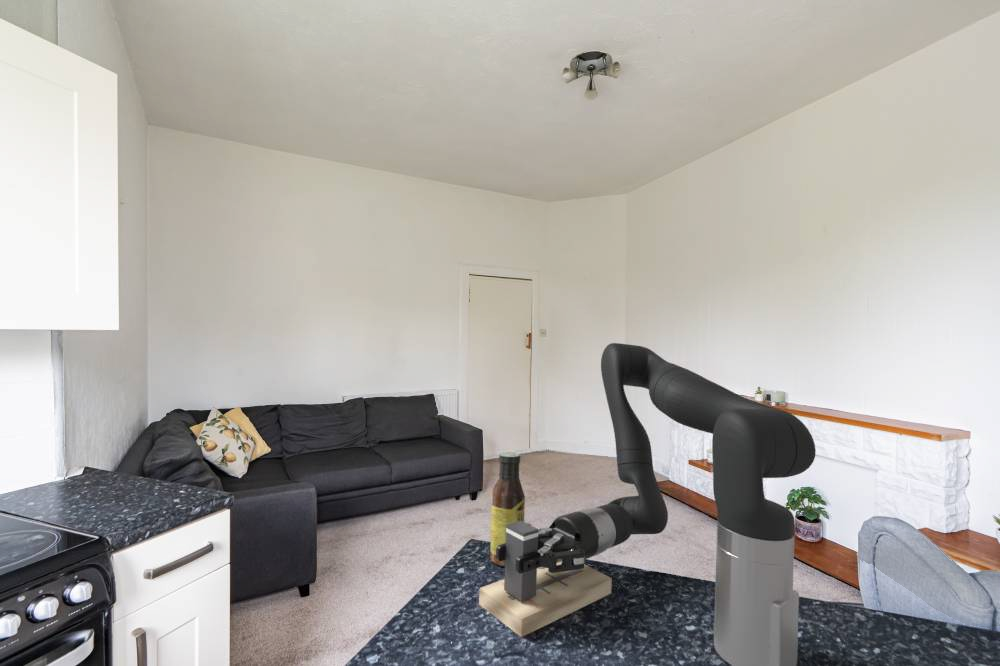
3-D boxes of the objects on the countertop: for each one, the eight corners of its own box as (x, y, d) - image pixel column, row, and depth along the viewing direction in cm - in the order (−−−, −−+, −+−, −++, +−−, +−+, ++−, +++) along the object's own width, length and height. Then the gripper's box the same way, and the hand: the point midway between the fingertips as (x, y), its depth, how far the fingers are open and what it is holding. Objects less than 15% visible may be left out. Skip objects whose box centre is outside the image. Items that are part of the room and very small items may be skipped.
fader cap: (536, 595, 71) (538, 529, 71) (521, 601, 69) (523, 533, 69) (518, 583, 74) (521, 520, 74) (503, 589, 72) (506, 524, 72)
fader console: (611, 593, 78) (611, 577, 78) (521, 637, 65) (521, 618, 65) (566, 569, 85) (567, 555, 86) (478, 604, 73) (479, 587, 73)
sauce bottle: (523, 569, 85) (527, 459, 85) (488, 567, 85) (493, 458, 85) (522, 553, 91) (526, 451, 92) (490, 551, 91) (494, 450, 92)
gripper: (554, 500, 86) (479, 519, 76) (617, 525, 75) (541, 552, 64) (553, 541, 86) (478, 566, 75) (616, 572, 75) (539, 607, 64)
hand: (507, 559), depth 70 cm, fingers closed on fader cap, 4 cm apart
